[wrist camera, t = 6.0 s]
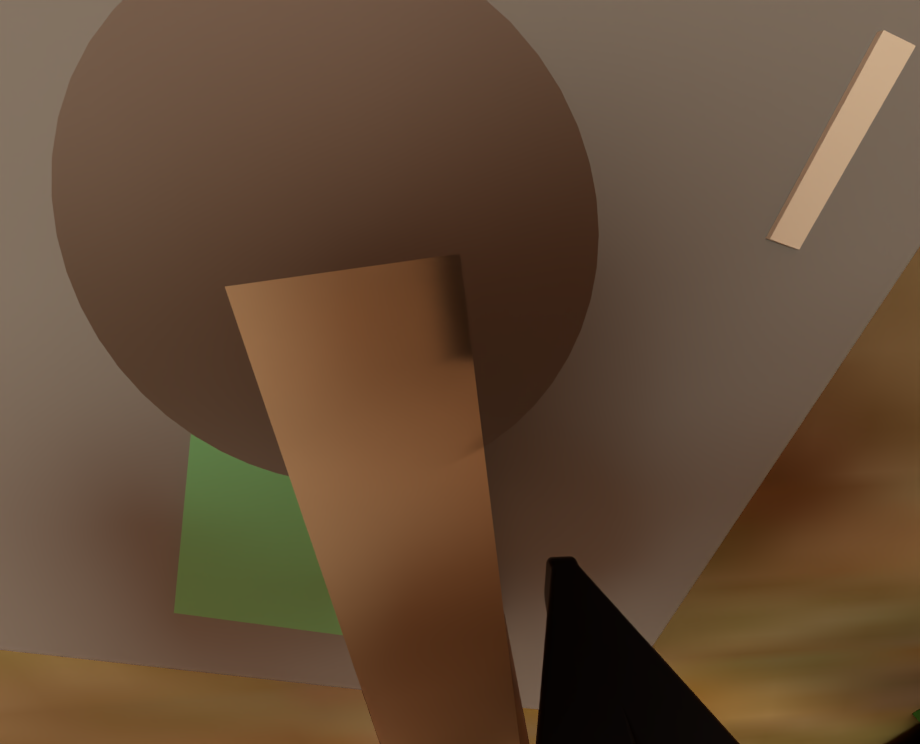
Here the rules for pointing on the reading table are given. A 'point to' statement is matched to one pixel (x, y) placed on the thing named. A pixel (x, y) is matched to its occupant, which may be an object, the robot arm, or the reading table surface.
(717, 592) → the reading table surface
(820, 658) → the reading table surface
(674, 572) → the dial plate
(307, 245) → the lever
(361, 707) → the reading table surface
